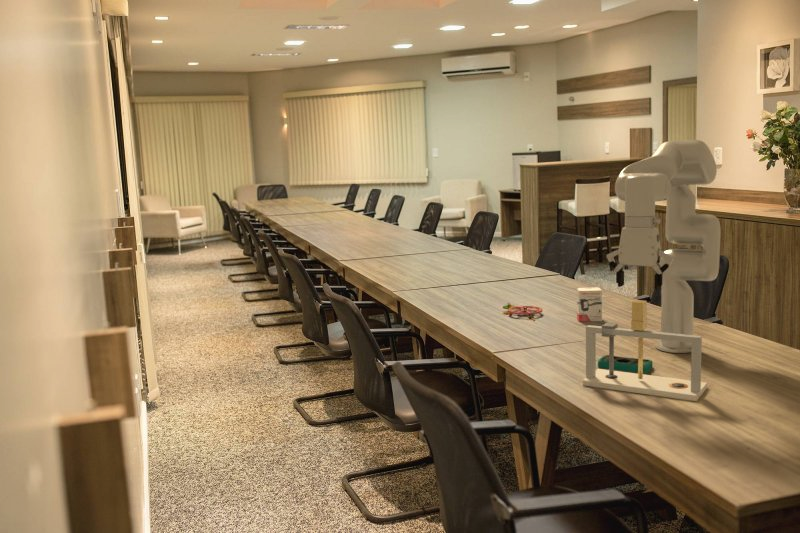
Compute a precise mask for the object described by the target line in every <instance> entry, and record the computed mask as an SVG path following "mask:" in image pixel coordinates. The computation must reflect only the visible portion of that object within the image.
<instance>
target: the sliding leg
mask: <svg viewBox="0 0 800 533" xmlns="http://www.w3.org/2000/svg"><path fill="white" fill-rule="evenodd" d="M647 303H648V302H647V300H643V299H642V300H641V299H634V300H633V301H632V302H631V321H630V322H631V323H630V326H631V327H630V329H631V330H639V331H643V330H644V331H645V329H647V328H648V318H647V313H648V312H647V310H648V309H647V308H648V307H647ZM637 338H638V341H637V344H638V347H637V348H638V349H637V353H638V354H637V355H638V356H637V357H638V358H637V359H638V373H637V374H638V379H643V359H644V338H640V337H637Z"/></svg>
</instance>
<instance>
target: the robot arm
mask: <svg viewBox="0 0 800 533" xmlns="http://www.w3.org/2000/svg"><path fill="white" fill-rule="evenodd" d="M717 169H718V168H717V163H716V161H715V158H714V155H713V154H712V151H711V150H710V147H709V145H708V144H706V143H705V142H704V141H702V140H700V139H685V140H684V139H683V140H680V139H679V140H669V141H665V142H662V143H661V144H660V145H659V146H658V148H657V149H656V150H655V151H654V152H653V154H652V155H651V156H649V157H647V158H644V159H641V160H637V161H635V162H633V163H631V164H629V165H627V166H626V167H624V168H623V169H622V170H621V171H620V173H619V174H618V176H617V178H616V181H615V183H614V193H615V195H616V197H617V198H618V199H619V200H620V201H623V202H624V227H622V229H621V232H620V239H619V245H618V249H615V250H613V251H612V252H609V253H608V254H606V259H607V262H609V265H610V267H612V268H613V270H614V272H615V275H616V276H615V278H616V280H615V281H616V282H615V283H616V284H617V287H618V288H620V287H623V286H624V285H625V271H624V268H625V267H626V266H628V267H629V266H630V267H649V268H652V269H653V270H654V272H655V274H654V284H653V285H654V287H653V288H654V290H659V289H660V288H661V300H660V301H661V304H660V305H661V309H660V310H661V313H660V314H661V318H660V319H661V320H660V324H661V325H660V332H665V333H675V334H685V335H694V304H695V303H694V298H695V294H694V292H693V289H692V287H691V286H690V285H689V283H688V282H687V281H694V282H696V281H698V282H713V281H715V280H716V279H717V277H718V275H719V270H720V252H721V224H720V219H719V218H718V217H717V216H715V215H713V214H706V213H705V214H704V213H703V214H702V213H701V214H700V213H699V214H698V213H696V203H697V202H696V201H697V199H696V195H695V194H694V192H693V191H692V189H691V188H690V187H689V186H691V185H695V186H696V185H697V186H699V185H700V186H701V185H703V186H704V185H710V184H712V183H713V182H714V181H715V179H716V176H717V171H718V170H717ZM688 185H689V186H688ZM665 200H666V209H665V210H666V211H665V212H666V213H665V238H666V240H667V242H668V243H670V244H673V245H681V246H682V245H684V246H701V247H702V249H690V248H688V249H687V248H669V249H666V250H664V251H663V250H662V248H661V246H662V245H661V237H660V231H659V228H658V227H656V225H660V224H661V221H662V220H661V218H658V217H656V202H662V201H665ZM616 256H618V262H617V261H616V260H615V258H614V257H616ZM691 347H692V343H688V342H679V341H669V340H659V341H657V342H656V343H655V348H656V349H657V350H659V351H663V352H666V353H672V354H689V353H691Z"/></svg>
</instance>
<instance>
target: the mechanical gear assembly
mask: <svg viewBox="0 0 800 533" xmlns="http://www.w3.org/2000/svg"><path fill="white" fill-rule="evenodd" d="M502 309H504V310H507V311H503V312H502V314H503V315H517V316H518V315H520V316H526V318H528V319H529V320H532V321H533V322H536V319H535V316H534V315H537V314H540V313H542V312H543V308H542V307H540V306H534V305H517V306H515V305H513V304H512V303H511V302H507V305H503V306H502Z"/></svg>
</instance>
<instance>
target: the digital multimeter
mask: <svg viewBox="0 0 800 533" xmlns="http://www.w3.org/2000/svg"><path fill="white" fill-rule="evenodd" d="M652 368H653V361H652V360H651V359H644V358H643V374H644V375H647V373H649V372H650V371H652ZM597 369H605V370H609V355H608V354H607V355H604V356H602V357H601V358H599V359H598V361H597ZM614 371H621V372H629V373H636V374H638V358H633V357H624V356H616V355H614Z"/></svg>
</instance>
